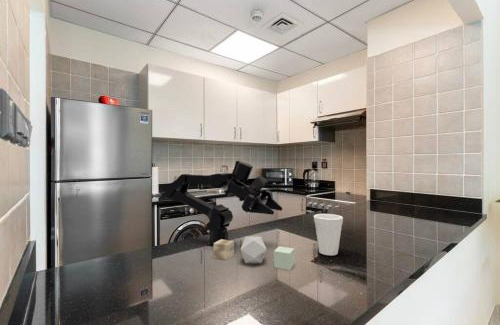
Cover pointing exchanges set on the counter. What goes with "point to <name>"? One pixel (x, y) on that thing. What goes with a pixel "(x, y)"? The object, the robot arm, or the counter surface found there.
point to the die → (253, 250)
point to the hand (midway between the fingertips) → (278, 211)
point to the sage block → (284, 258)
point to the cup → (328, 232)
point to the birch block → (223, 249)
